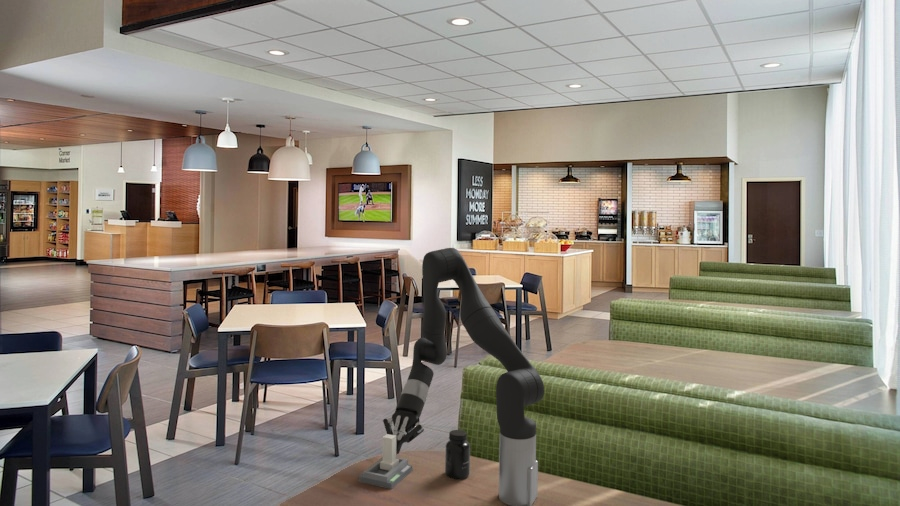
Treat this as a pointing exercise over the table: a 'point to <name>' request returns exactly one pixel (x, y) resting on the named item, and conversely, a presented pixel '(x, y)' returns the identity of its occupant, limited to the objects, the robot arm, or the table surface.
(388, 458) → the block
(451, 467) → the supplement bottle
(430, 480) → the table surface
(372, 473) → the grey slotted stand
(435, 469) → the table surface
